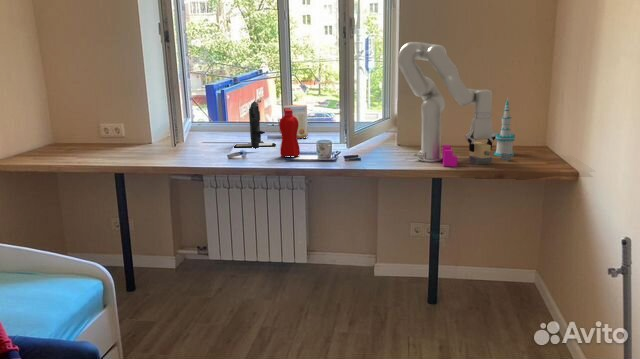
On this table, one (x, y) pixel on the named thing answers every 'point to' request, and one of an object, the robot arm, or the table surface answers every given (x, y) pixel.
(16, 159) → the table surface
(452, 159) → the toy block
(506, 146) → the model tower
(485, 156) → the yellow rectangular block
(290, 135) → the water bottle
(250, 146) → the black upright stand
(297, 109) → the cracker box
